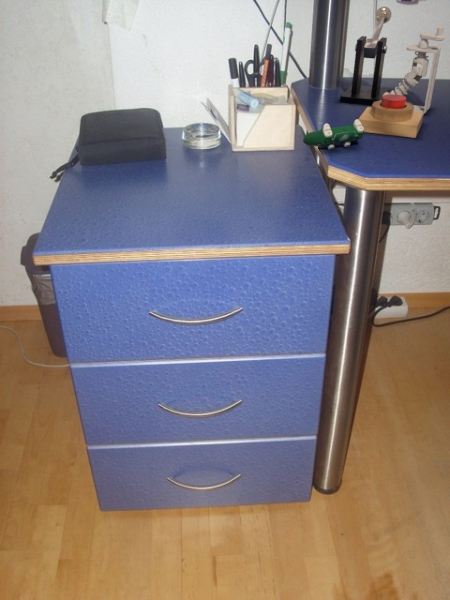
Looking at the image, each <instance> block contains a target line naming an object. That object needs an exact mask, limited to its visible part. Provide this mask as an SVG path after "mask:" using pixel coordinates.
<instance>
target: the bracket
mask: <svg viewBox="0 0 450 600" xmlns="http://www.w3.org/2000/svg"><path fill="white" fill-rule="evenodd" d="M367 39H368V38H367V35H361V36H360V37H359V38H358V39H356V44H355V47H354V51H355V57H354V64H353V75H352V82H351V84H350V86H349V87H347V89H346V90H345V91H344V92H343V93H342V94H341V95H340V99H339V103H344V104H353V105H363V106H372V104H373V103H374V102H376V101H380V100H382V97H383V94H384V93H385V92H388V93H390V87H382V78H383V71H384V63H385V57H386V54H387V51H388V45H387V43H388V42H387V41H388V37H381V38H380V39H378V45H377V53H376V57H375V62H374V68H373V69H374V70H373V77H372V84H371V85H362V80H363V71H364V64H365V58H364V46H365V43H366V41H367Z"/></svg>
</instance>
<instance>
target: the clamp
mask: <svg viewBox="0 0 450 600" xmlns="http://www.w3.org/2000/svg"><path fill="white" fill-rule="evenodd" d="M444 29H445V28H444V26H438V27H437V28H436V33H430V32H421V33H420V34H419V38H420V41H419V42H418V44H410V45H407V46H406V51H410V52H414V55H415V57H414V58H413V59H412V65H411V69H410V71H409V72H407V73H406V74H405V75H404V77H403V79H402V81H399V83H398V86H395V88H394V90H391V91H389V93H388V92H385V93H384V94H383V96H384V95H388V94H396V95H402V96H405V95H408V91H412V87H417V86H418V84H419V83H420V80H421V79H422V78H425V77H426V76H427V73H428V67H429V62H430V59H428V58H429V55H427V54H428V53H429V54H433V57H432V62H431V68H430V73H429V78H428V85H427V91H426V96H425V101H424V106H423V105H416V104H415V105H414V104H413V105H414V110H413V111H414V112H423V113H424V114H426V113H427V112H428V110H429V109H430V108H431V105H432V98H433V94H434V88H435V82H436V77H437V71H438V67H439V62H440V61H439V60H440V55H441V47H440V46H433V45H429V41H436V42H442V41H444V40H445V35H443V34H444ZM418 65H421V66H422V67H420V66H418ZM424 114H423V115H424Z"/></svg>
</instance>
